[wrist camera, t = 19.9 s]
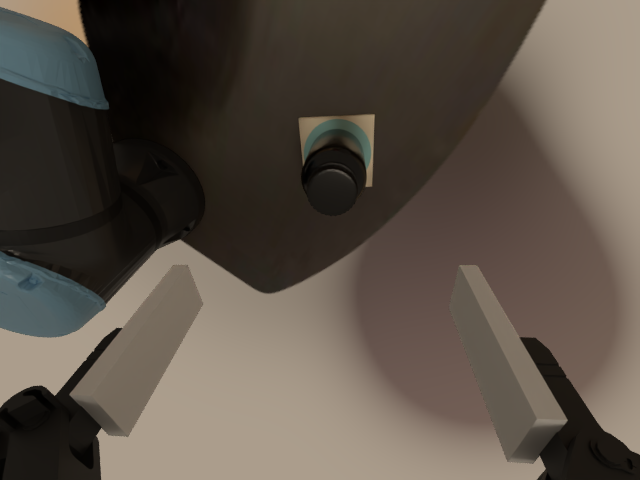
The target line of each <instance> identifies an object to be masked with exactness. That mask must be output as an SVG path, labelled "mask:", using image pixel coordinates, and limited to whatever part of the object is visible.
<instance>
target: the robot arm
mask: <svg viewBox="0 0 640 480" xmlns="http://www.w3.org/2000/svg"><path fill="white" fill-rule="evenodd" d="M107 109H109V104H108V101H107V100H106V99H105V97H104V93H103V89H102V84H101V80H100V76H99V72H98V68H97V64H96V60H95V58H94V56H93V54H92V52H91V51H90V49H89V48H88V47H87V46H86V45H85V44H84V43H83V42H82V41H81V40H80V39H79V38H77V37H76V36H74V35H73V34H71V33H69V32H67V31H66V30H64V29H61V28H59V27H57V26H54V25H52V24H49V23H46V22H43V21H41V20H38V19H35V18H32V17H29V16H26V15H23V14H20V13H17V12H14V11H11V10H8V9H5V8H1V7H0V328H3V329H6V330H9V331H12V332H16V333H20V334H25V335H30V336H37V337H60V336H64V335H67V334H70V333H72V332H75V331H77V330H79V329H80V328H81V327H83V326H84V325H85V324H86V323H87V322H88V321H89V320H90V319H92V318H93V317H94V316H95V315H96V314H97V313H98V312H100V311H102V310H103V309H104V308H105V307H106V304H107V302H108V301H109V300H110V299H111V298H112V297H113V296H114V295H115V294H116V293H117V292H118V291H119V290H120V288H121V287H122V286H123V285H124V284H125V283H126V282H127V281H128V280H129V279H130V278H131V277H132V276H133V275H134V274H135V272H136V271H137V270H138V269H139V268H140V267H141V266H142V265H143V264H144V263H145V262H146V261H147V260H148V259H149V258H150V256H151V255H152V254H153V253H154V252H155V251H156V250H157V249H159V248H161V247H164V246H166V245H168V244H170V243H173V242H175V241H177V240H179V239H182V238H183V237H185V236H186V235H188V234H189V233H190V232H191V231H192V230H193V229H194V228H195V227H196V225H197V224H198V223H199V222H200V220H201V218H202V216H203V212H204V206H205V201H204V194H203V190H202V187H201V185H200V183H199V181H198V179H197V177H196V175H195V174H194V172H193V171H192V170H191V168H190V167H189V166H188V165H187V164H186V163H185V162H184V161H183V160H182V159H181V158H180V157H179V156H178V155H176V154H175V153H174V152H172V151H171V150H169V149H168V148H166V147H164V146H162V145H160V144H157V143H155V142H152V141H149V140H144V139H125V140H121V141H118V142H116V143H113V142H112V137H111V131H110V125H109V119H108V112H107ZM202 305H203V303H202V300H201V298H200V295H199V292H198V290H197V287H196V285H195V282H194V280H193V278H192V275H191V272H190V270H189V267H188V265H173V266H172V267H171V269H170V270H169V271H168V272H167V274H166V275H165V276H164V277H163V279H162V280H161V281H160V282H159V284H158V285H157V286H156V287H155V289H154V290H153V291H152V292H151V294H150V295H149V296H148V297H147V299H146V300H145V301H144V302H143V303H142V305H141V306H140V307H139V308H138V310H137V311H136V312H135V313H134V315H133V316H132V317H131V318H130V320H129V321H128V322H127V323H126V325H125V326H124V327H123V328H116V329H115V330H114V331H112V332H111V333H110V334H108V335H107V336H106V337H104V339H103V340H102V341H101V342H100V343H99V344H98V346H97V347H96V348H95V350H94V352H92V353H91V354H90V355H89V356H88V357H87V360H86V361H84V362H83V363H82V365H81V366H80V367H79V368H78V369H77V371H76V372H75V373H74V374H73V376H71V378H70V379H69V380H68V381H67V383H66V384H65V385H64V386H63V387H62V388H61V390H60V391H59V392H58V393H57V394H56V395H55V396H54V395H53V394H52V393H51V392H50V391H49V390H48V389H47V388H45V387H43V386H33V387H30V388H27V389H24V390H23V391H21V392H19V393H17V394H16V395H14V396H12V397H11V398H10V399H9V400H8V401H6V402H5V403H4V404H3V405H2V407H1V408H0V480H101V471H100V454H99V441H98V438H97V437H96V435H97V434H98V432H99V430H100V429H101V428H102V429H103V430H104V431H105V432H106V433H107V434H108V435H112V436H126V437H128V436H129V434H130V432H131V431H132V428H133V427H134V425H135V424H136V422H137V420H138V418H139V417H140V415H141V413H142V411H143V410H144V407H145V406H146V404H147V402H148V401H149V399H150V397H151V395H152V394H153V392H154V390H155V388H156V387H157V385H158V383H159V381H160V379H161V378H162V376H163V374H164V372H165V371H166V369H167V367H168V365H169V364H170V362H171V360H172V358H173V356H174V354H175V353H176V351H177V349H178V348H179V346H180V344H181V342H182V341H183V338H184V337H185V335H186V333H187V332H188V330H189V328H190V326H191V325H192V323H193V321H194V319H195V318H196V316H197V314H198V312H199V311H200V309H201V307H202ZM449 310H450V312H451V315H452V318H453V320H454V323H455V325H456V328H457V331H458V333H459V336H460V339H461V341H462V344H463V346H464V349H465V352H466V354H467V357H468V359H469V362H470V365H471V367H472V370H473V373H474V375H475V378H476V380H477V383H478V386H479V388H480V391H481V394H482V396H483V399H484V401H485V404H486V407H487V409H488V412H489V414H490V417H491V420H492V422H493V425H494V427H495V430H496V433H497V435H498V438H499V440H500V443H501V446H502V448H503V451H504V454H505V456H506V459H507V461H508V462H517V463H532V464H533V463H534V462H535V461H536V459H537V458H538V457H539V456H540V457H541V459H542V461H543V463H544V466H545V468H546V470H545V471H544V472H543V473H542V474H541V475H540V476H539V478H538V479H537V480H640V455H639V454H637V453H634V452H632V451H630V450H629V449H628V448H627V446H626V445H625V444H624V443H623V442H621V441H620V440H618V439H617V438H616V437H614V436H612V435H611V434H609V433H607V432H605V431H604V430H603V429H602V428H601V427H600V426H599V424H598V423H597V421H596V420H595V418H594V417H593V415H592V414H591V412H590V411H589V409H588V408H587V406H586V405H585V403H584V402H583V400H582V399H581V397H580V396H579V394H578V393H577V391H576V390H575V388H574V387H573V385H572V384H571V382H570V381H569V379H567V378H566V375H565V373H564V371H563V370H562V368H561V367H559V365H558V362H557V361H556V359H555V358H554V357H553V355H552V353H551V352H550V350H549V349H548V348H546V347H545V346H544V345H543V344H542V343H541V342H540V341H538V340H537V339H536V338H523V337H519V336H518V334H517V333H516V331H515V329H514V328H513V326H512V324H511V322H510V321H509V319H508V317H507V316H506V314H505V312H504V311H503V309H502V307H501V305H500V304H499V302H498V301H497V299H496V297H495V295H494V293H493V292H492V290H491V289H490V287H489V285H488V283H487V281H486V280H485V278H484V276H483V275H482V273H481V271H480V270H479V268H478V266H477V265H459V269H458V273H457V277H456V281H455V285H454V289H453V293H452V297H451V301H450V305H449Z"/></svg>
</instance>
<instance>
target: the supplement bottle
mask: <svg viewBox="0 0 640 480" xmlns="http://www.w3.org/2000/svg"><path fill="white" fill-rule="evenodd" d="M301 181H302V186H303V189H304V191H305V193H306V194H307V197H308V201H309V202H310V204H311V206H313V208H314V209H316V210H317V211H318V212H320V213H321V214H325V215H330V216H333V215H334V216H336V215H341V214H342V213H345V212H346V211H349V209H350V208H352V206H353V204H355V201H356V200H357V199H358V198H359V197H360V196H361V195H362V193H363V191H364V189H365V186H366V181H367V172H366V165H365V158H364V152H363V148H362V145H361V143H360V141H359V140H358V139H357V138H356V136H354V135H353V134H352V133H350V132H348V131H346V130H343V129H331V130H328V131H325V132H323V133H322V134H320V135H319V136H318V137H317V138H316V139H315V141H314V142H313V144H312V146H311V148H310V150H309V153H308V155H307V157H306V160H305V162H304V165H303V168H302V173H301Z"/></svg>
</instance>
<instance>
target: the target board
mask: <svg viewBox="0 0 640 480" xmlns="http://www.w3.org/2000/svg"><path fill="white" fill-rule="evenodd" d="M299 129H300V139H301V149H302V159H303V165H304V162H305V160H306V157H307V155H308V153H309V150H310V148H311V146H312V144H313V142H314V141H315V139H316V138H317V137H318V136H319V135H320V134H322V133H323V132H325V131H328V130H331V129H343V130H346V131H348V132H350V133H352V134H353V135H354V136H356V138H357V139H358V140H359V141H360V143H361V145H362V148H363V152H364V158H365V165H366V172H367V181H366V186H365V187H372V172H373V144H374V114H359V115H340V116H321V117H302V118H299Z"/></svg>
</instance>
